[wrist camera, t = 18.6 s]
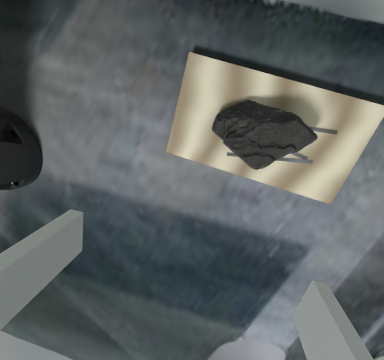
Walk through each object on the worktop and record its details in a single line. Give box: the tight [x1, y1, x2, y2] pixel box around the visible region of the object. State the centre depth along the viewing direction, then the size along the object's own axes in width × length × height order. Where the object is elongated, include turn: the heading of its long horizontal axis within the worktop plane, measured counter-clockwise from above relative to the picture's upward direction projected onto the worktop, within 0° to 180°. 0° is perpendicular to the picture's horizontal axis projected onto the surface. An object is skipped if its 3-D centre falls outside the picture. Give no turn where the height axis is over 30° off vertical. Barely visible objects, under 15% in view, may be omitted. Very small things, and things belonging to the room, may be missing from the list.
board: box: [166, 52, 384, 204], centre depth 28 cm, size 26×14×2 cm, turn 74°
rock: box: [212, 100, 318, 170], centre depth 25 cm, size 10×6×10 cm
